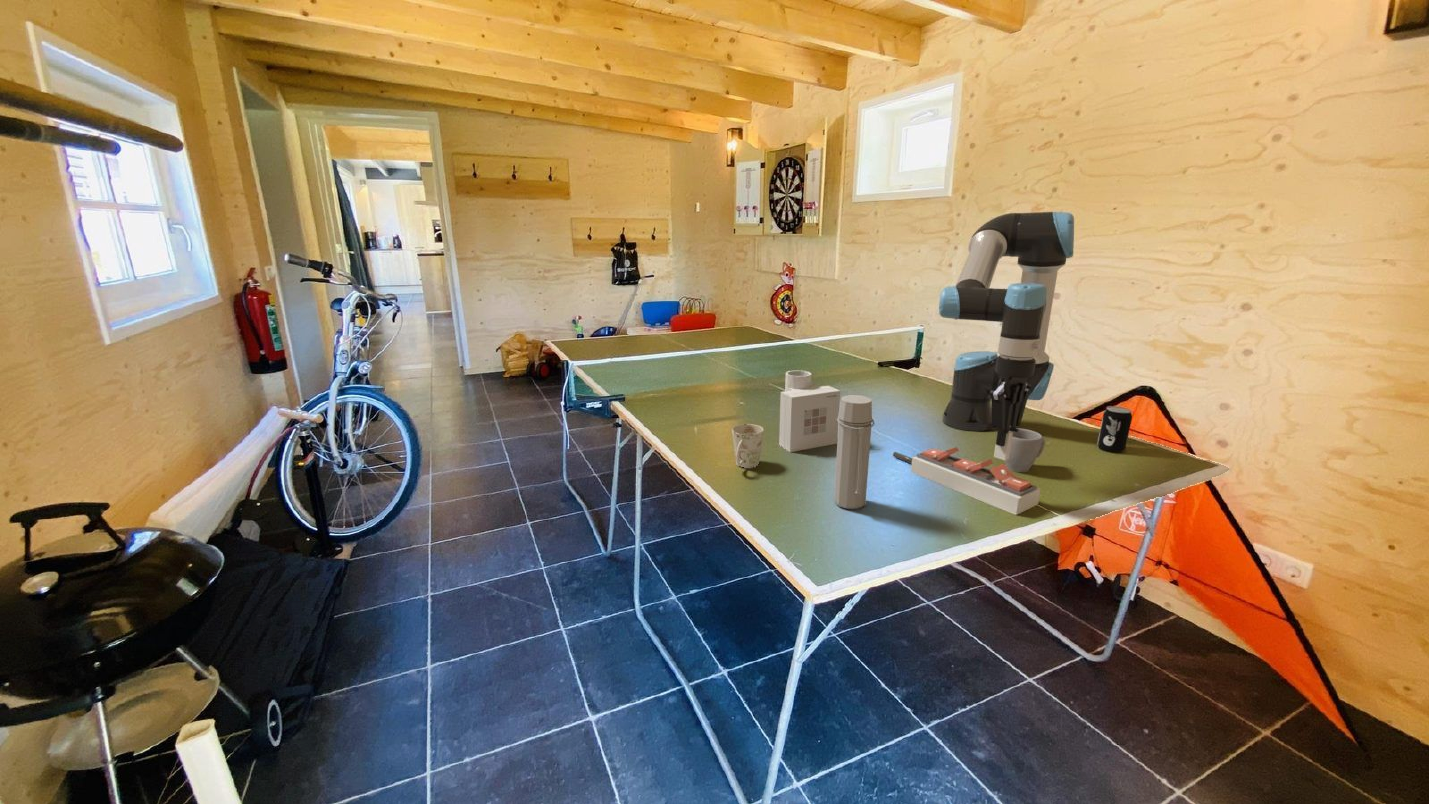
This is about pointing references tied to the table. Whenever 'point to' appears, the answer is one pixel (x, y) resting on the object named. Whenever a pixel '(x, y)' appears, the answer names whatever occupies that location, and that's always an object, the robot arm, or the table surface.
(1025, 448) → the mug
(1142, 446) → the table surface
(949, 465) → the power strip
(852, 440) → the water bottle
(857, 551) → the table surface
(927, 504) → the table surface
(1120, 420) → the beverage can
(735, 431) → the mug
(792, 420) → the white detergent container
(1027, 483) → the rocker
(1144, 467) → the table surface
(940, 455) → the rocker
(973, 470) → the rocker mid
